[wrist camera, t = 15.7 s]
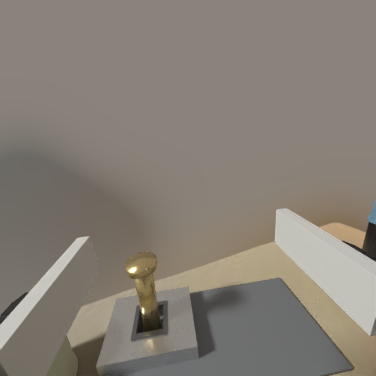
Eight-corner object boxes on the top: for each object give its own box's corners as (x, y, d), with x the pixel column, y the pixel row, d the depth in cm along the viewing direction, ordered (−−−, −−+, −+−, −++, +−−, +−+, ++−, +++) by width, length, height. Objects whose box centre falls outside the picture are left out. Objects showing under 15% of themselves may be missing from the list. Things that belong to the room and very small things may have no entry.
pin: (166, 315, 37) (157, 249, 32) (166, 342, 32) (155, 270, 27) (141, 319, 36) (128, 253, 32) (137, 348, 32) (121, 275, 27)
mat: (279, 279, 44) (279, 277, 44) (352, 369, 27) (352, 367, 27) (121, 306, 40) (120, 305, 40) (87, 431, 23) (86, 429, 23)
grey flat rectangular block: (189, 296, 41) (188, 285, 40) (198, 358, 29) (197, 345, 28) (119, 309, 39) (116, 297, 38) (100, 379, 28) (95, 365, 27)
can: (7, 385, 28) (-24, 332, 25) (72, 340, 34) (54, 292, 31) (3, 456, 22) (-41, 397, 18) (84, 384, 28) (62, 330, 24)
